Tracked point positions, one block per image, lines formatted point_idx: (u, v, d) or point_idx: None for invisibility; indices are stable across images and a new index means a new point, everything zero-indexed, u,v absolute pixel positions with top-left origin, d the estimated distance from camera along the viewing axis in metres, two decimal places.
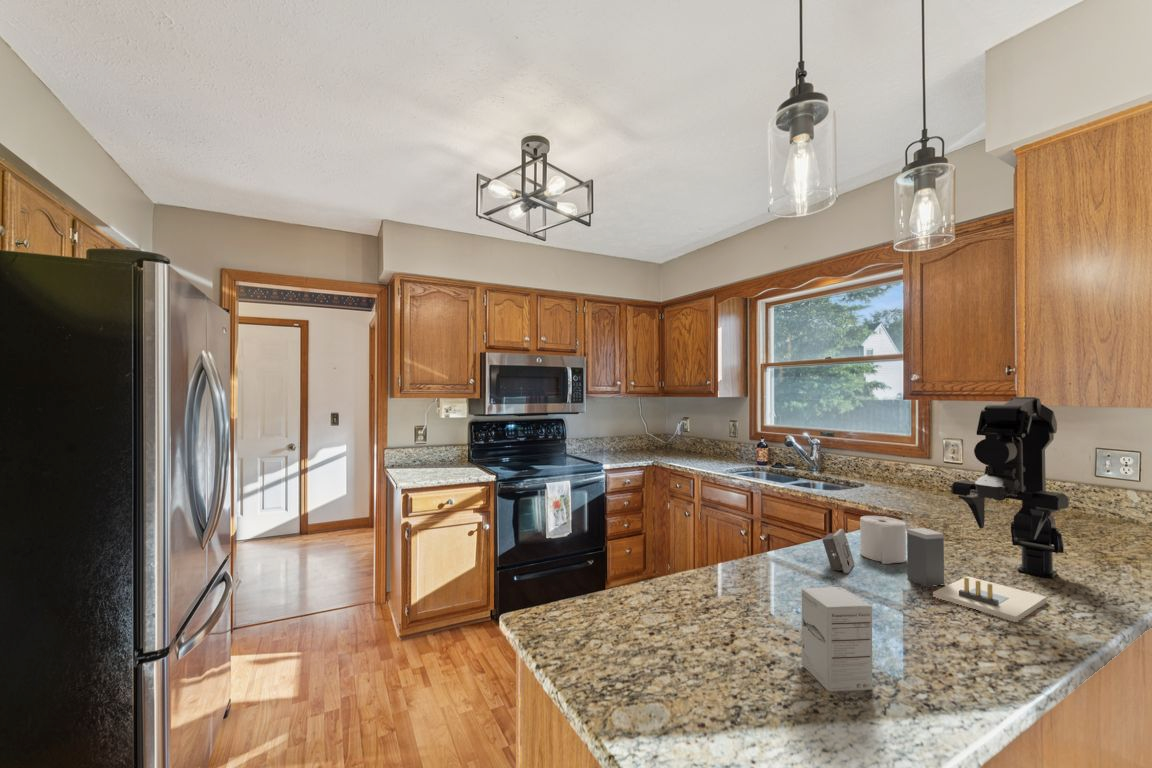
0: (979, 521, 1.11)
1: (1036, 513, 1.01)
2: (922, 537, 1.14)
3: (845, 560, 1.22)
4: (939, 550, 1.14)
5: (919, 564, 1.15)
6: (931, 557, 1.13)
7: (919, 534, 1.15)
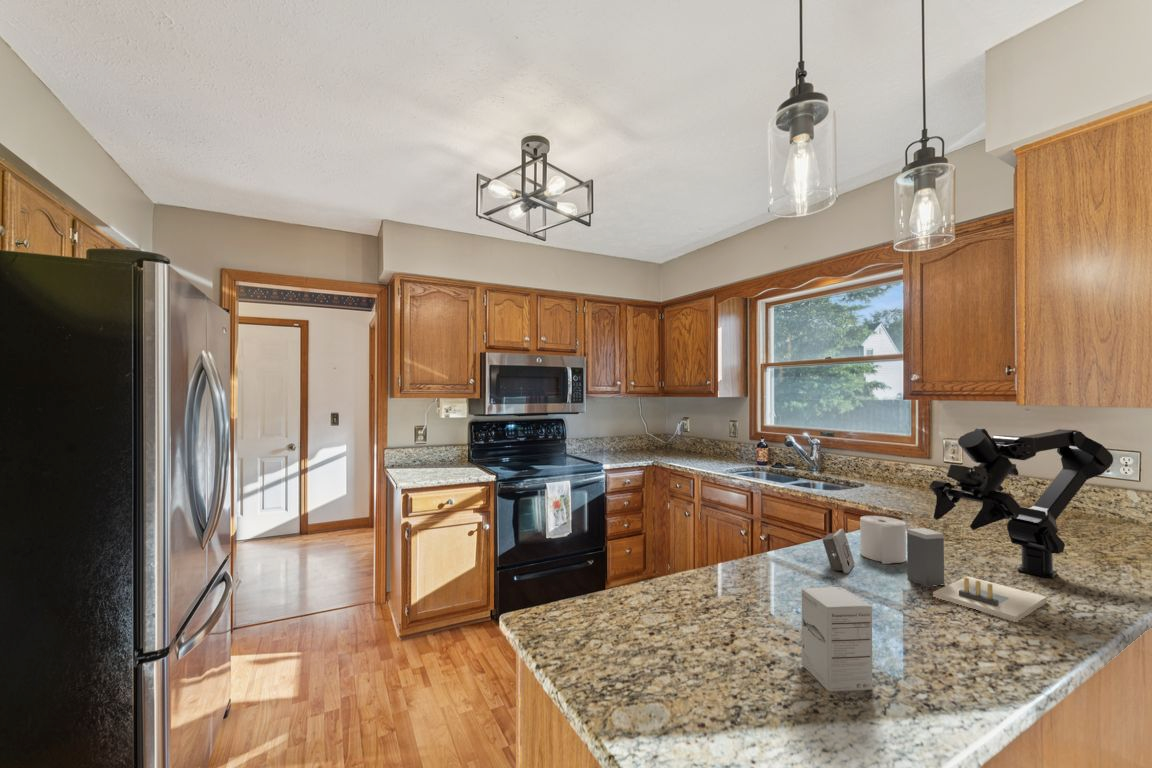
0: (937, 511, 1.23)
1: (986, 504, 1.13)
2: (922, 537, 1.14)
3: (845, 560, 1.22)
4: (939, 550, 1.14)
5: (919, 564, 1.15)
6: (931, 557, 1.13)
7: (919, 534, 1.15)
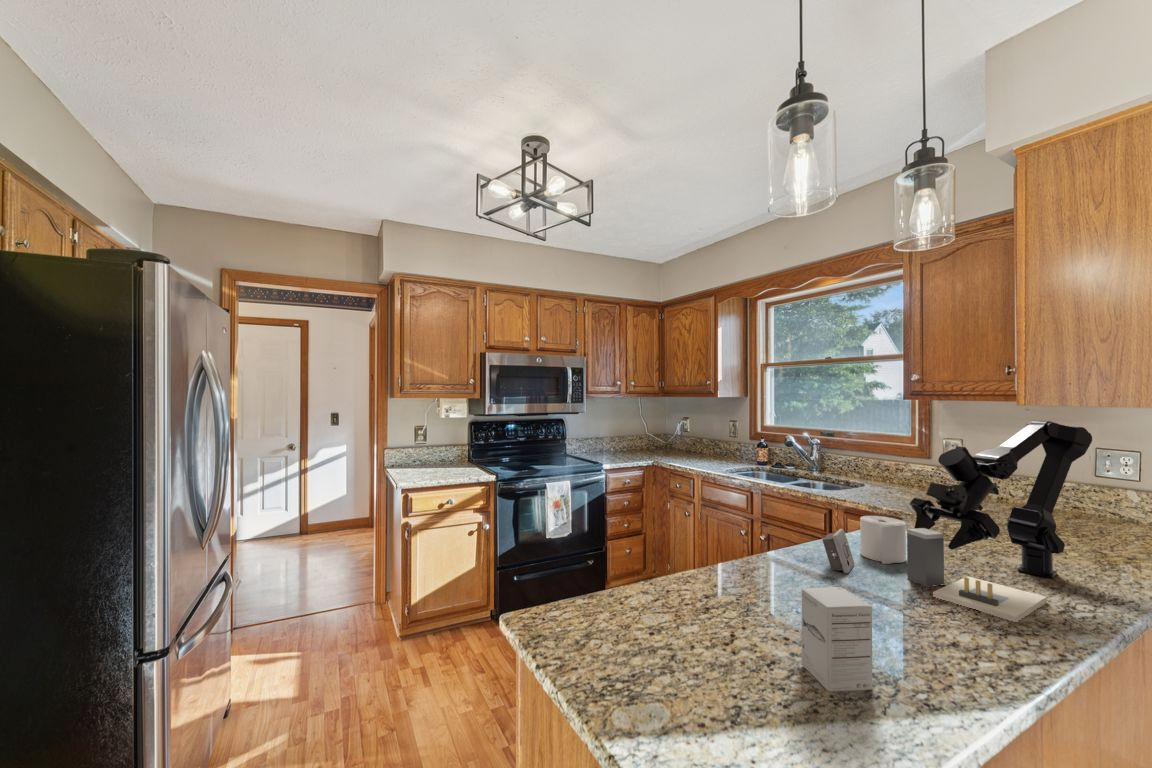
0: None
1: (964, 524, 1.11)
2: (922, 537, 1.14)
3: (845, 560, 1.22)
4: (939, 550, 1.14)
5: (919, 564, 1.15)
6: (931, 557, 1.13)
7: (919, 534, 1.15)
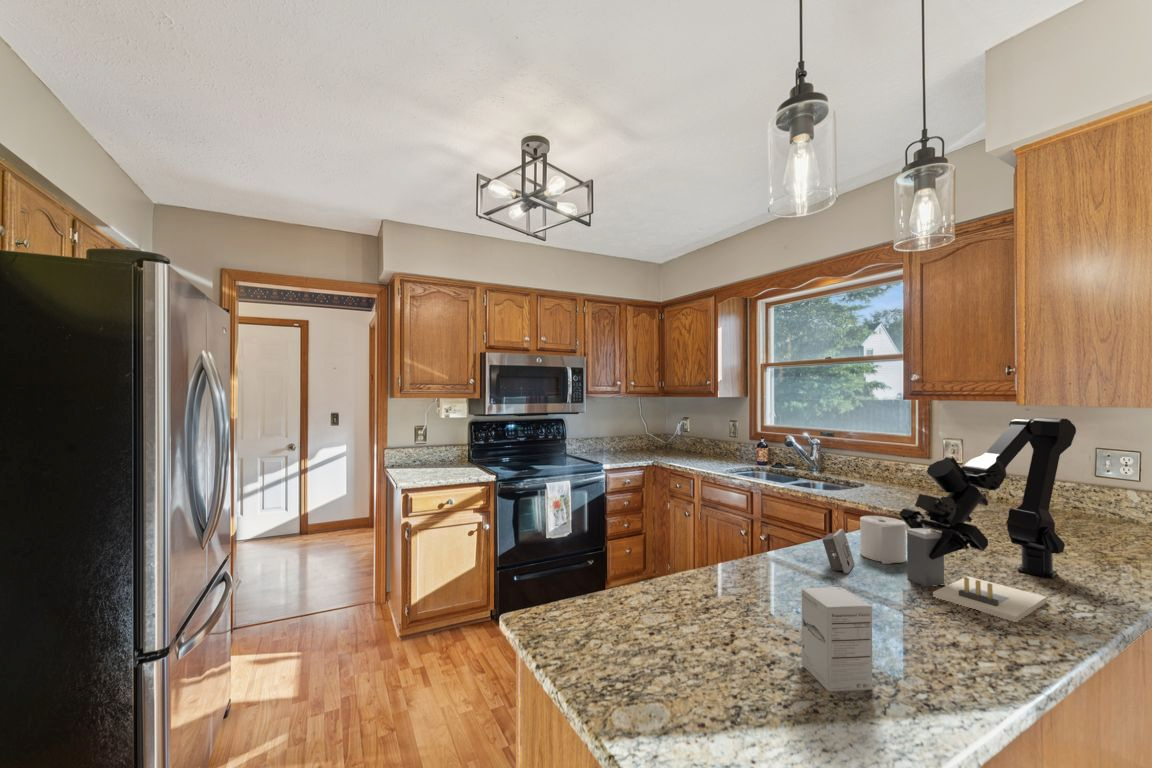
0: None
1: (944, 534, 1.13)
2: (922, 537, 1.14)
3: (845, 560, 1.22)
4: None
5: (919, 564, 1.15)
6: None
7: (919, 534, 1.15)
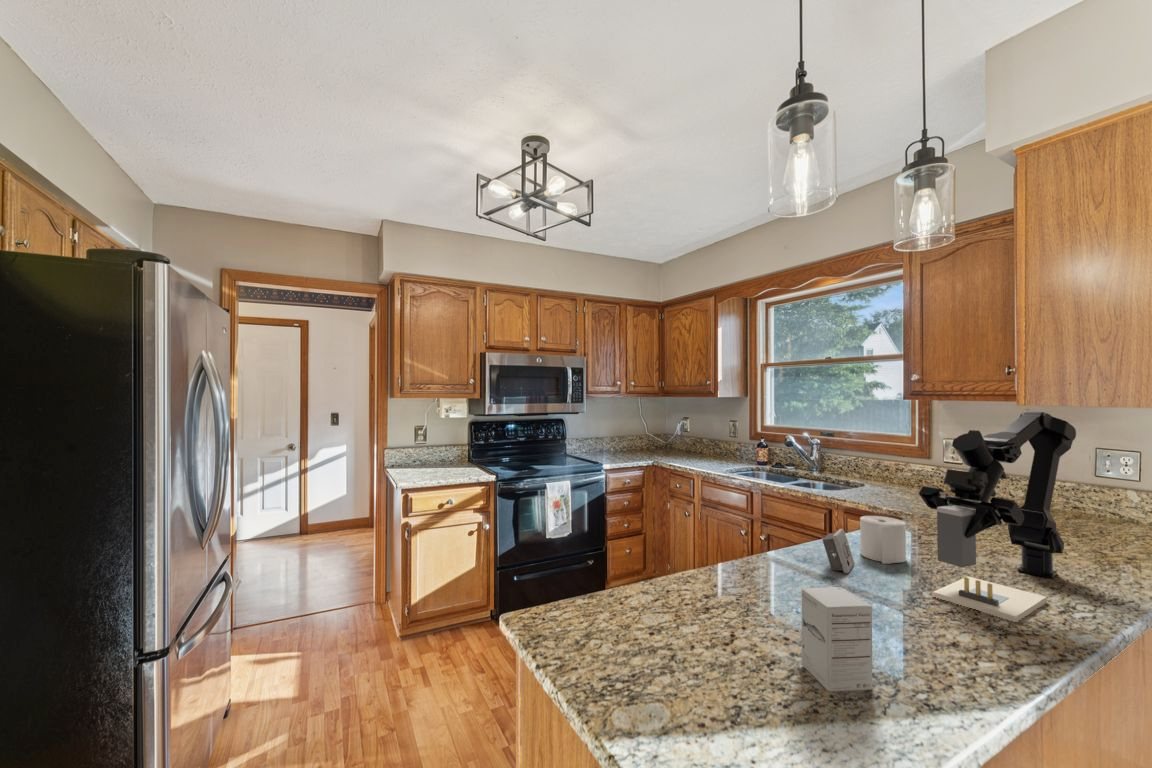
0: None
1: (979, 511, 1.07)
2: (957, 515, 1.07)
3: (845, 560, 1.22)
4: None
5: (952, 543, 1.08)
6: None
7: (953, 512, 1.08)
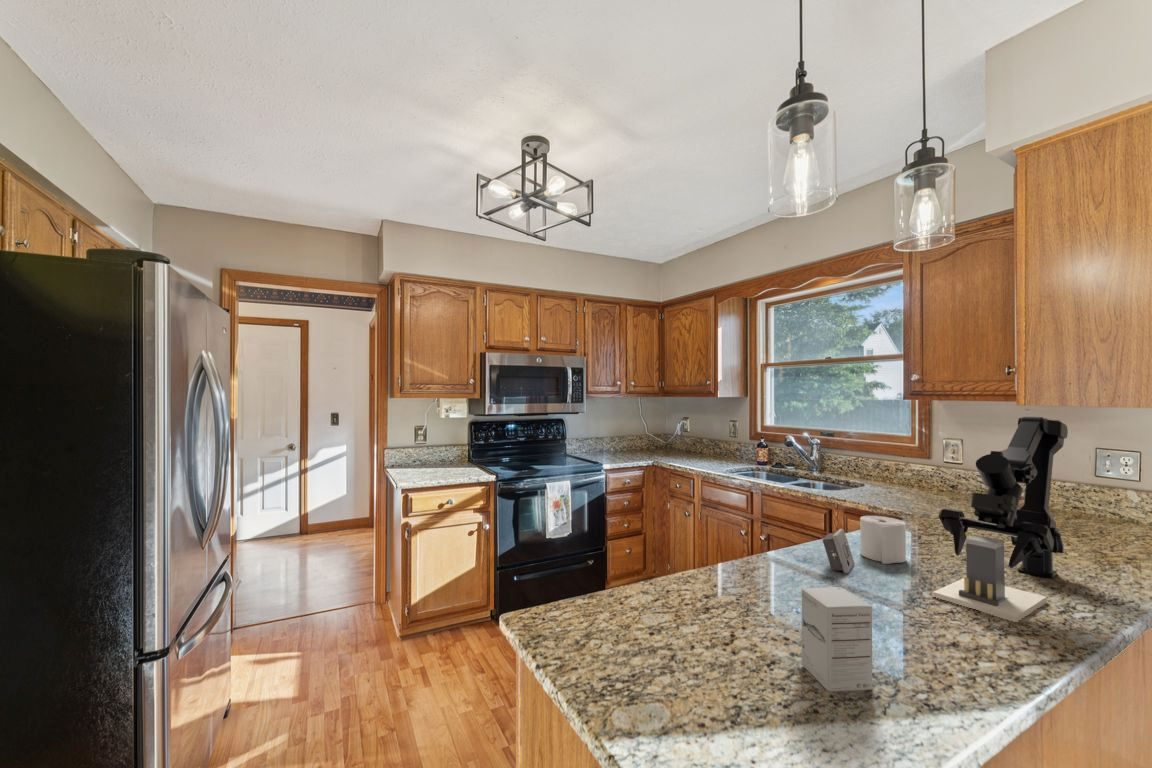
0: (957, 546, 1.08)
1: (1022, 539, 1.01)
2: (990, 547, 1.02)
3: (845, 560, 1.22)
4: (1002, 559, 1.04)
5: (984, 577, 1.03)
6: (998, 568, 1.02)
7: (985, 544, 1.03)
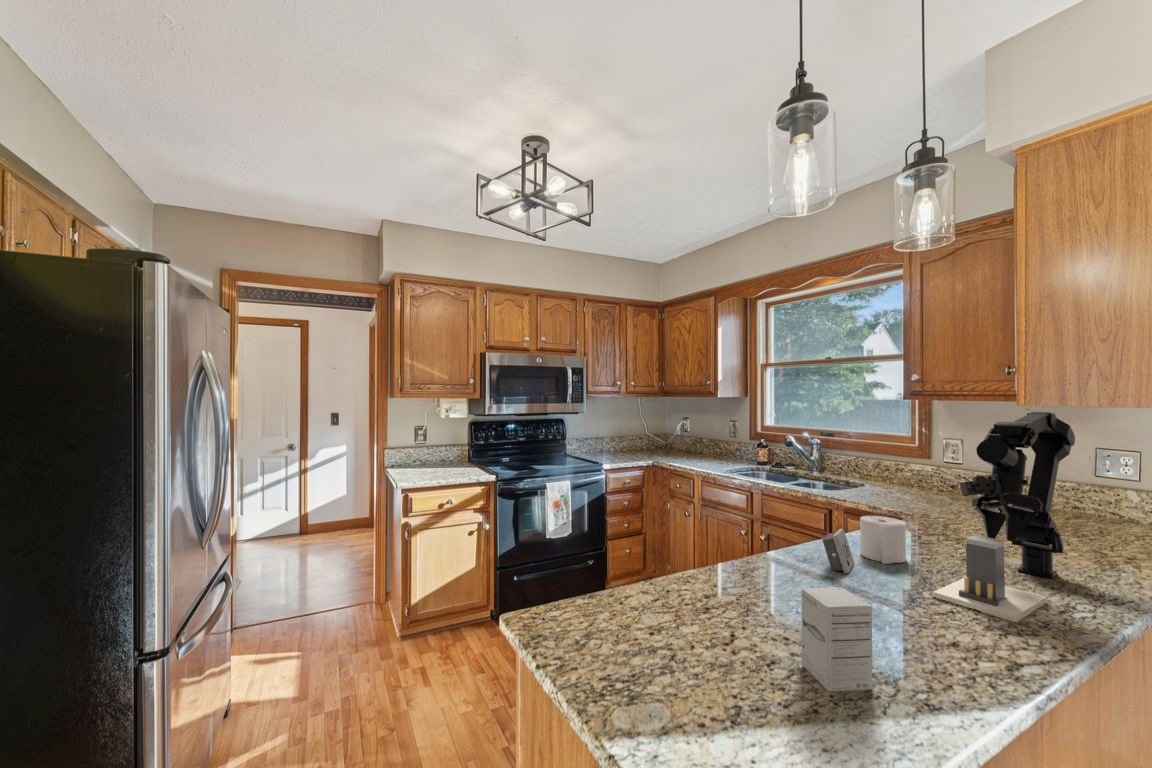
0: (987, 532, 1.17)
1: (1004, 511, 1.08)
2: (990, 547, 1.02)
3: (845, 560, 1.22)
4: (1002, 559, 1.04)
5: (984, 577, 1.03)
6: (998, 568, 1.02)
7: (985, 544, 1.03)
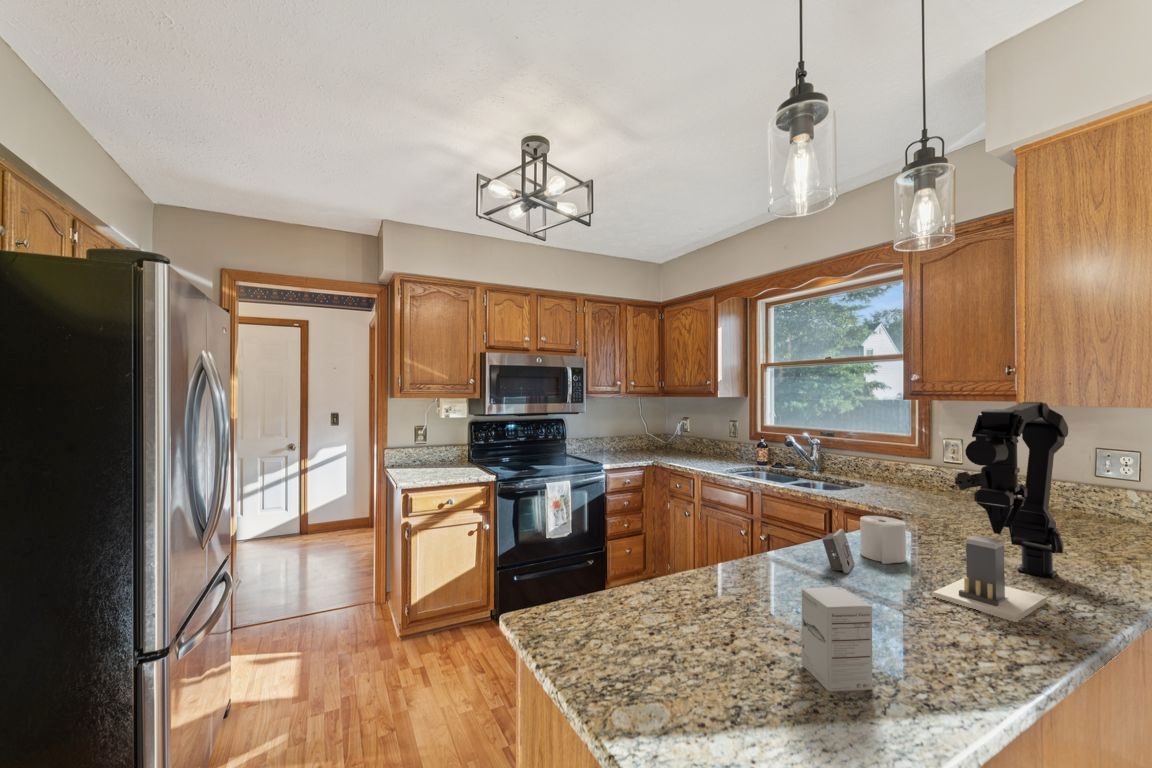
0: None
1: None
2: (990, 547, 1.02)
3: (845, 560, 1.22)
4: (1002, 559, 1.04)
5: (984, 577, 1.03)
6: (998, 568, 1.02)
7: (985, 544, 1.03)
